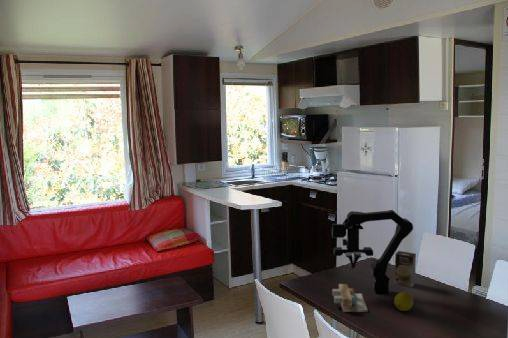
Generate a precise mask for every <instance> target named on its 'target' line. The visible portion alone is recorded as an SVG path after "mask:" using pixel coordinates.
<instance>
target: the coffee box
mask: <svg viewBox="0 0 508 338" xmlns="http://www.w3.org/2000/svg"><path fill="white" fill-rule="evenodd" d="M416 254H417V253H415V252H414V253H413V252H409V251H401V250H398V251H396V252H395V265H394V267H395V268H394V284H395V285H400V286H406V287H410V288H413V286H414V285H415V283H416V258H417V255H416Z"/></svg>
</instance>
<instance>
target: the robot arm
mask: <svg viewBox="0 0 508 338" xmlns="http://www.w3.org/2000/svg"><path fill="white" fill-rule="evenodd" d="M386 220H391V221H393V222H394V223H395V224H396V226H395V230H394V234H393V236H392V238H391V239H390V241H389V242H388V244H387V246H386V247H385V249H384V251H383V252H382V254H381V256H380V257H379V258H378V259H376V258H374V259H373V262H372V263H371V264H370V272H371V275H372V276H373V277H374V281H373V283H372V284H373V288H372V289H373V291H374V293H375V294H376V295H390V292H389V291H390V289H389V287H390V286H389V283H390V281H391V280H390V277H389V276H388V274H387V273H386V272H387V270H388V266H389V263H390V261H391V259H392V258H393V256H394V254H396V252H397V250H398V248H399V246H400V245H401V243H402V241H403V240H404V239H405V238H407V237H408V236H410V234H411V232H413V230H414V225H413V223H412V222H411V221H410V220H409V219H407V218H403V217H401V216H400V214H398V213H396V212H395V210H393V209H390V210H383V211H380V210H379V211H372V212H371V211H370V212H362V211H355V210H354V211H349V212H348V213H347V214H346V218H345V219H344V221H343V222H342V223H338V224H337V223H332V224H331V225H332V227H331V238H332V239H333V238H334V239H336V238H339V239H340V238H341V239H342V246H343V247H344V246H345V248H346V249H344V248H342V247H341V246H337V247H336V246H335V247H334V248H333V252H332V253H333V256H335V257H340V256H341V257H342V256H343V254H345V257H346V258H348V260H349V263H350V265H351V269H355V267H356V265H357V263H358V261H359V260H360V258H362V254H365V256H367V257H373V256H374V250H373V248H372V247H370V246H364V247H363V248H362V249H360V230H364V227H363V226H362V225H363V224H364V223H367V222H376V221H386ZM346 236H347V237H346ZM345 237H346V238H345ZM352 254H353V255H352Z"/></svg>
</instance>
